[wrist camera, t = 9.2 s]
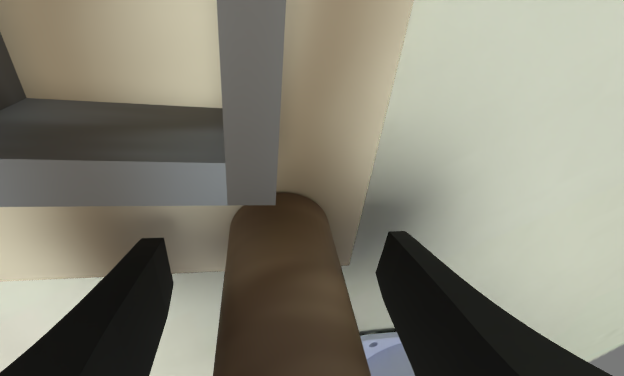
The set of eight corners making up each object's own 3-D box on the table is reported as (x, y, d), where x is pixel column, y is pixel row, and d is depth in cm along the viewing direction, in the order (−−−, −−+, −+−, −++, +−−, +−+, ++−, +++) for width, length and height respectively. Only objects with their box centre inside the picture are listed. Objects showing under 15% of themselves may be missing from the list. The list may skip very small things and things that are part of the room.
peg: (326, 185, 10) (388, 381, 5) (330, 257, 12) (377, 444, 7) (218, 201, 10) (178, 422, 5) (241, 271, 12) (229, 475, 7)
